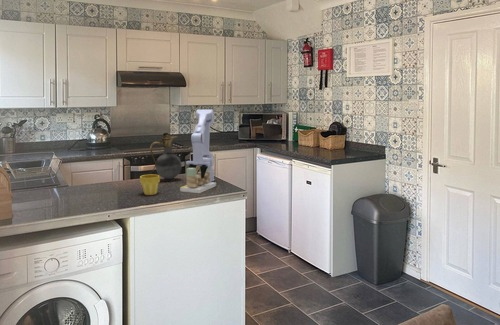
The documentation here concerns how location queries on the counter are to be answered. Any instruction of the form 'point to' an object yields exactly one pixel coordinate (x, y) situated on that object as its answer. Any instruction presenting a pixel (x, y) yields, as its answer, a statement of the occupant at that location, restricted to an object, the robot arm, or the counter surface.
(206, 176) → the tan wooden bar
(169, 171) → the pitcher
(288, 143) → the counter surface
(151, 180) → the plant pot
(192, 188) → the dock
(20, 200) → the counter surface
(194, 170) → the block
